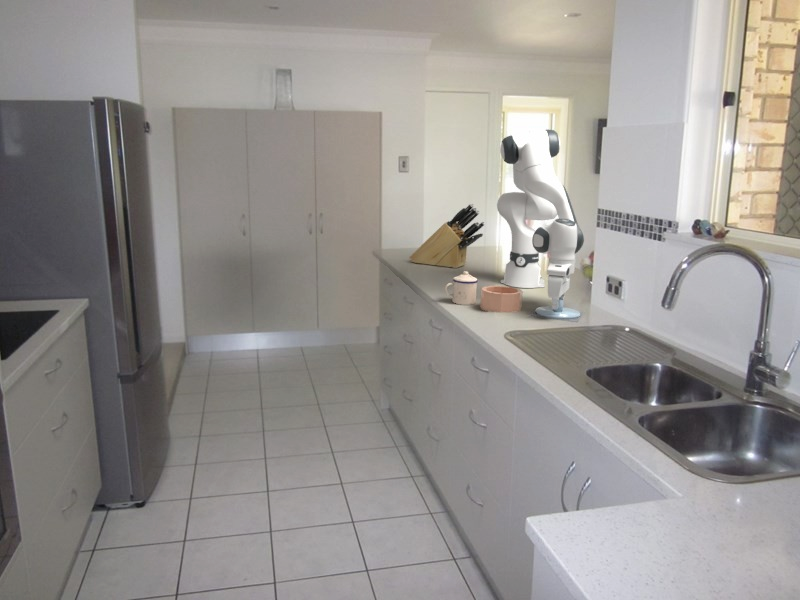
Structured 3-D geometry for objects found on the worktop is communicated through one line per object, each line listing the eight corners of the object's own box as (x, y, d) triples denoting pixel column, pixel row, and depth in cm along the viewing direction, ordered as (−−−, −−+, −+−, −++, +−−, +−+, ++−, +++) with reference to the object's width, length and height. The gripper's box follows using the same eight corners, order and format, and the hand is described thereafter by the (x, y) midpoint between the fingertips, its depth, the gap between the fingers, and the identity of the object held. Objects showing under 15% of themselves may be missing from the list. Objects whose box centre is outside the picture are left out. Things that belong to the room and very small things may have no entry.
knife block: (474, 271, 306) (478, 205, 300) (408, 263, 323) (411, 200, 316) (483, 267, 316) (487, 204, 309) (419, 260, 332) (421, 199, 326)
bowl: (487, 302, 241) (488, 284, 240) (524, 307, 236) (526, 288, 234) (475, 310, 229) (477, 291, 227) (514, 315, 223) (516, 295, 222)
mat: (539, 308, 235) (539, 306, 235) (584, 313, 229) (584, 312, 229) (529, 317, 221) (529, 315, 221) (576, 323, 215) (577, 322, 215)
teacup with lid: (473, 299, 245) (475, 269, 243) (478, 305, 237) (480, 274, 234) (442, 299, 244) (443, 269, 241) (446, 305, 235) (448, 273, 233)
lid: (540, 307, 235) (541, 293, 234) (582, 312, 229) (584, 298, 228) (531, 315, 221) (532, 301, 220) (576, 321, 215) (577, 306, 214)
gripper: (557, 262, 232) (554, 299, 235) (545, 270, 214) (542, 311, 217) (575, 263, 229) (572, 301, 232) (565, 272, 211) (561, 313, 214)
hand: (557, 306), depth 224 cm, fingers open, 8 cm apart
